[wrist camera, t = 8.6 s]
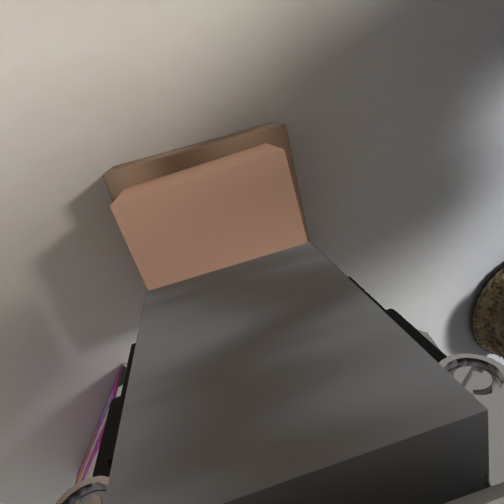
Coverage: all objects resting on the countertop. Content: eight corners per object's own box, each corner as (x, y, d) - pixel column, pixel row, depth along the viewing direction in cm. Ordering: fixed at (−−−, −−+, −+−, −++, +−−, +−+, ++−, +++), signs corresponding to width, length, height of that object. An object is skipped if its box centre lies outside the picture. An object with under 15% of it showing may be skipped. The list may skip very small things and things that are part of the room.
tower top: (266, 142, 20) (284, 149, 17) (300, 271, 23) (322, 300, 20) (123, 189, 20) (109, 206, 16) (176, 313, 23) (175, 352, 19)
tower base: (269, 123, 24) (285, 124, 20) (299, 262, 28) (317, 285, 24) (115, 165, 23) (102, 174, 20) (167, 302, 27) (165, 332, 23)
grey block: (310, 241, 11) (487, 409, 5) (336, 373, 13) (491, 625, 7) (146, 291, 11) (94, 548, 4) (197, 420, 13) (214, 738, 6)
